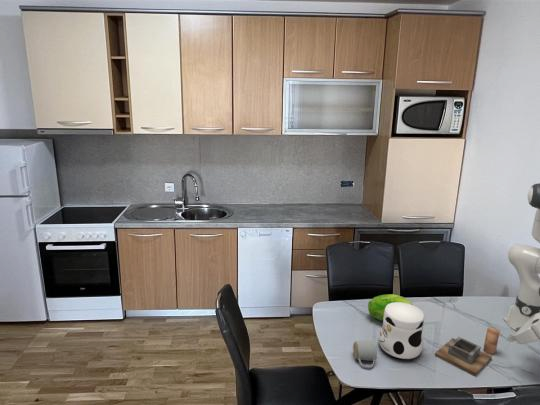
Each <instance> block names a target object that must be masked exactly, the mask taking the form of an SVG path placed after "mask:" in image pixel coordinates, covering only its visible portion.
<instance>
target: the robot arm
mask: <svg viewBox="0 0 540 405" xmlns="http://www.w3.org/2000/svg"><path fill="white" fill-rule="evenodd" d="M527 200H528V204H529V205H530V206H531V207H532V208H534V209H536V211H535V214H534V220H533V223H532V230H531V235H532V237H533V239H534V241H536V242H537V243H539V244H540V182H539V183H538V182H537V183H534V184H533V185H531V187H530V189H529V190H528V193H527ZM507 258H508V261H509V263H510V264H511V265H512V266H513V267H514V269H515V271H516V272H517V274H518V278H519V287H518V288H519V289H518V293H517V296H516V298H515V302H514V304H512V305H510V307H509V311H508V314H507V315H506V316H504V317H503V321H504V322H506V323H507V324H508V326H509V327H510V328H511V329H513V330H514V331H516V333H515V334H511V335H509V336H507V340H508V341H509V342H514V341H515V342H516V343H517V344H519V345H525V344H530V343H535V342H538V341H540V248H539V247H536V246H532V245H529V244H528V245H527V244H519V243H518V244H515V245H513V246H512V247H511V248H509V250H508V253H507Z"/></svg>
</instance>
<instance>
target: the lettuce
mask: <svg viewBox="0 0 540 405" xmlns="http://www.w3.org/2000/svg"><path fill="white" fill-rule="evenodd" d="M394 302H402V303H407V304H411V305H413V303H412V302H411V300H409V299H407V298H406V297H404V296H402V295H401V296H400V295H398V294H395V293H393V294H392V293H391V294H382V295H381V294H380V295H378V296H374V297H373V298H372V299H370V300H369V301H368V303H367V304H368V305H367V310H368V312H369V315H370V316H371V317H373V318H375V319H377V320H379V321H382V322H383V317H384V311H385V307H386V306H387V305H388V304H390V303H394Z"/></svg>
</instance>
